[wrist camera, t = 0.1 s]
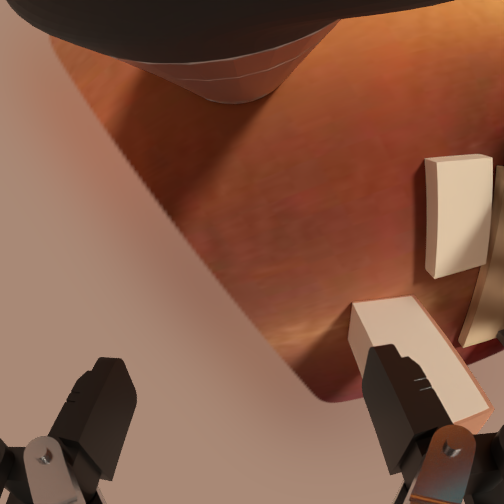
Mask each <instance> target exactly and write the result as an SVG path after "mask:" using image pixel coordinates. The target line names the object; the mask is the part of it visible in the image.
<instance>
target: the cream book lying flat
mask: <svg viewBox="0 0 504 504" xmlns="http://www.w3.org/2000/svg"><path fill="white" fill-rule="evenodd" d="M425 173H426V199H427V234H426V260H425V270H426V271H427V272H428V273H429V274H430V275H431V276H432V277H433V278H434V279H436V278H440V277H443V276H447V275H450V274H454V273H457V272H461V271H464V270H468V269H471V268H474V267H478V266H481V265H484V264H486V260H487V252H488V244H489V235H490V224H491V211H492V186H493V162H492V157H489V156H485V155H482V154H470V155H458V156H446V157H435V158H425Z"/></svg>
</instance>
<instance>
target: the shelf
mask: <svg viewBox="0 0 504 504" xmlns="http://www.w3.org/2000/svg"><path fill="white" fill-rule="evenodd" d="M494 338H497V339H498V340H499V341H500V342H501V344H502V345H503V346H504V166H498V165H497V166H496V178H495V188H494V196H493V204H492V211H491V224H490V235H489V244H488V252H487V260H486V264H484V265H481V267H480V271H479V275H478V279H477V283H476V286H475V290H474V293H473V297H472V300H471V303H470V306H469V310H468V313H467V316H466V319H465V322H464V325H463V327H462V330H461V333H460V336H459V338H458V342H459V343H460V345H461V346H462V347H463V348H464V347H468V346H471V345H475V344H478V343H481V342H485V341H488V340H491V339H494Z"/></svg>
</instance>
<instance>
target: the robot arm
mask: <svg viewBox="0 0 504 504" xmlns="http://www.w3.org/2000/svg"><path fill="white" fill-rule="evenodd" d="M449 1H454V0H7V2H8V4H9V5H10V6H11V7H12V9H13V10H14V11H15V12H16V13H17V14H18V15H19V16H21V17H22V18H23V19H24V20H26V21H27V22H28V23H30V24H31V25H32V26H34V27H36V28H38V29H40V30H42V31H44V32H45V33H47V34H49V35H52V36H54V37H57V38H60V39H62V40H65V41H68V42H70V43H73V44H75V45H78V46H81V47H84V48H87V49H90V50H93V51H96V52H99V53H101V54H105V55H108V56H110V57H113V58H115V59H118V60H120V61H123V62H125V63H128V64H130V65H133V66H135V67H138V68H140V69H142V70H145V71H147V72H150V73H152V74H155V75H157V76H159V77H161V78H164V79H166V80H168V81H170V82H172V83H174V84H176V85H179V86H181V87H183V88H185V89H187V90H189V91H191V92H193V93H195V94H197V95H199V96H201V97H203V98H205V99H207V100H210V101H213V102H218V103H223V104H241V103H247V102H252V101H255V100H257V99H260V98H263V97H264V96H266V95H268V94H269V93H271V92H273V91H274V90H275V89H276V88H277V87H278V86H279V85H280V84H281V83H283V81H284V80H285V79H286V78H287V77H288V76H289V75H290V74H291V73H292V72H293V71H294V69H295V68H296V67H297V66H298V65H299V64H300V63H301V62H302V61H303V59H304V58H305V57H306V56H307V55H308V54H309V53H310V52H311V51H312V50H313V49H314V48H315V46H316V45H317V44H318V43H319V42H320V41H321V40H322V39H323V38H324V37H325V36H326V35H327V34H328V33H329V32H330V31H331V30H332V29H333V28H334V27H335V26H336V24H337V23H338V22H339V21H340V20H341V19H345V18H353V17H361V16H369V15H376V14H384V13H390V12H398V11H405V10H411V9H416V8H421V7H427V6H433V5H436V4H441V3H445V2H449ZM362 392H363V397H364V399H365V402H366V405H367V408H368V411H369V413H370V417H371V419H372V422H373V425H374V428H375V431H376V434H377V437H378V440H379V443H380V446H381V448H382V452H383V455H384V458H385V461H386V464H387V467H388V470H389V473H390V475H393V474H396V473H400V472H402V475H403V478H404V480H403V482H402V484H401V486H400V489H399V490H398V492H397V494H396V496H395V498H394V501H393V503H392V504H461V503H462V500H463V499H464V502H465V504H504V425H503V426H502V428H501V429H500V430H499V432H496V433H487V434H472V433H471V432H470V431H469V430H468V429H466V428H465V427H463V426H460V425H454V424H453V422H452V421H451V419H450V417H449V415H448V414H447V412H446V410H445V408H444V406H443V405H442V403H441V401H440V399H439V397H438V396H437V394H436V392H435V390H434V389H433V388H432V385H431V383H430V382H429V380H428V379H427V378H426V375H425V373H424V372H423V370H422V368H421V367H420V365H419V364H418V363H416V362H415V361H414V360H412V359H411V358H410V357H409V356H407V357H401V356H400V354H399V352H398V350H397V349H396V347H395V345H394V344H387V345H381V346H374V347H370V349H369V351H368V356H367V360H366V365H365V370H364V375H363V379H362ZM136 403H137V394H136V390H135V387H134V385H133V383H132V380H131V378H130V376H129V373H128V371H127V369H126V366H125V363H124V361H123V360H122V359H120V358H105V357H100V358H99V359H98V360H97V362H96V363H95V365H94V367H93V369H92V371H87V372H86V373H85V374H83V375H82V376H81V377H80V378H79V379H78V380H77V381H76V383H75V385H74V387H73V389H72V390H71V393H70V394H69V396H68V398H67V402H65V403H64V405H63V407H62V409H61V411H60V413H59V415H58V417H57V419H56V420H55V422H54V425H53V426H52V428H51V430H50V432H49V434H48V436H41V437H37V438H35V439H34V440H32V441H31V442H30V443H29V444H28V445H27V446H26V447H8V446H7V445H6V444H5V443H4V442H3V441H2V440H1V439H0V497H1V494H2V492H3V489H4V488H5V489H7V490H8V491H9V492H10V494H9V497H8V500H7V502H6V504H106V501H105V499H104V497H103V495H102V493H101V491H100V489H99V487H98V482H99V479H104V480H108V481H112V479H113V476H114V473H115V469H116V466H117V462H118V459H119V456H120V453H121V450H122V447H123V444H124V441H125V437H126V434H127V431H128V428H129V425H130V422H131V419H132V416H133V413H134V410H135V407H136Z"/></svg>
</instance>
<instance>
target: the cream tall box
mask: <svg viewBox="0 0 504 504" xmlns="http://www.w3.org/2000/svg"><path fill="white" fill-rule="evenodd" d="M348 342H349V344H350V347H351V349H352V352H353V354H354V357H355V360H356V362H357V365H358V368H359V370H360V373H361V376H362V378H363V375H364V370H365V365H366V360H367V356H368V351H369V349H370V347H374V346H381V345H387V344H394V345H395V347H396V349H397V350H398V352H399V354H400V356H401V357H407V356H409V357H410V358H411V359H412V360H414V361H415V362H416V363H418V364H419V365H420V367H421V368H422V370H423V372H424V373H425V375H426V378H427V379H428V380H429V382H430V383H431V385H432V388H433V389H434V390H435V392H436V394H437V396H438V397H439V399H440V401H441V403H442V405H443V406H444V408H445V410H446V412H447V414H448V415H449V417H450V419H451V421H452V422H453V424H454V425H460V426H463V427H465V428H466V429H468V430H469V431H470V432H471V433H472V434H477V433H478V432H479V431H480V429H481V428H482V426H483V425H484V424H485V423H486V421H487V420H488V418H489V417H490V416H491V414H492V413H493V411H494V407H493V405H492V404H491V402H490V400H489V399H488V397H487V396H486V394H485V392H484V391H483V389H482V388H481V386H480V385H479V383H478V382H477V380H476V379H475V377H474V376H473V374H472V372H471V371H470V370H469V368H468V367H467V365H466V364H465V362H464V361H463V359H462V358H461V356H460V355H459V354H458V352H457V351H456V349H455V348H454V346H453V345H452V344H451V342H450V341H449V339H448V338H447V337H446V335H445V334H444V333H443V331H442V330H441V329H440V327H439V326H438V325H437V323H436V322H435V321H434V319H433V318H432V317H431V315H430V314H429V313H428V311H427V310H426V309H425V308H424V306H423V305H422V304H421V302H420V301H419V300H418V299H417V297H416V296H415V295H414V294H413V295H405V296H398V297H390V298H381V299H373V300H364V301H355V302H352V307H351V315H350V323H349V330H348Z"/></svg>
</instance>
